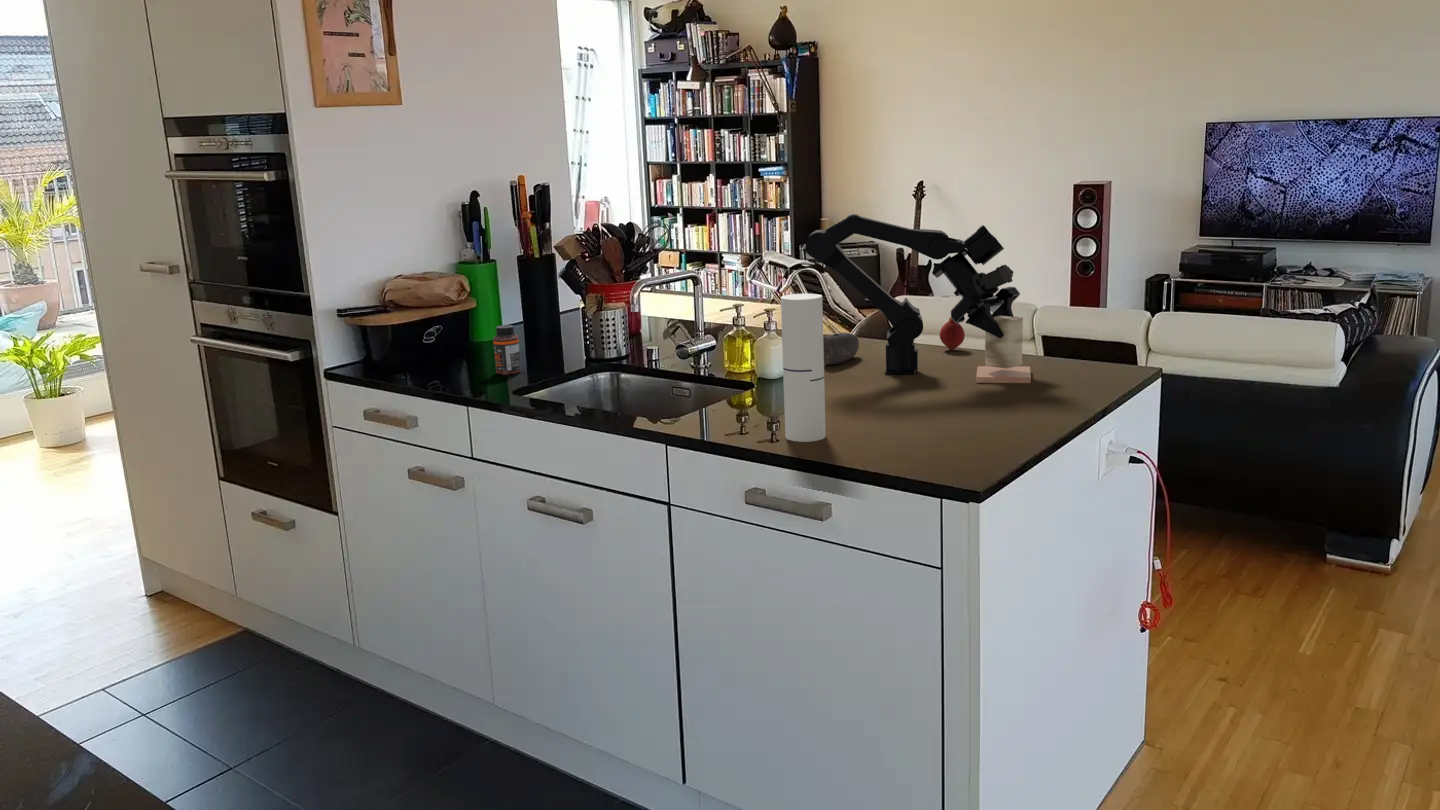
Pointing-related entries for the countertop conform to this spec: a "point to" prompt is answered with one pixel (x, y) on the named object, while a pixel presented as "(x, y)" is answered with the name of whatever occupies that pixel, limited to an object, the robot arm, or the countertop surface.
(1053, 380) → the countertop surface
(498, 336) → the supplement bottle
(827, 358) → the perforated stone tool
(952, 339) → the onion
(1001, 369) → the terracotta tile
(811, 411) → the cylindrical container
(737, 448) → the countertop surface
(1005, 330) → the birch block
